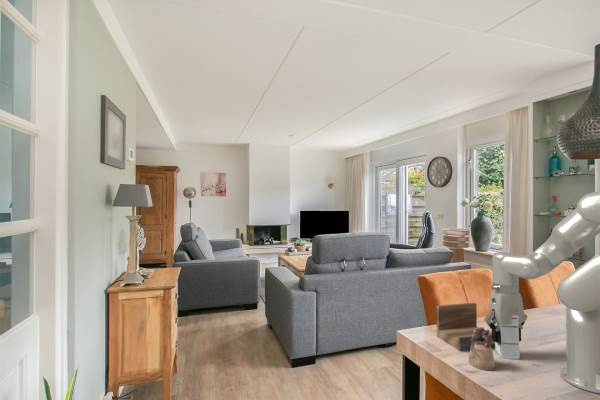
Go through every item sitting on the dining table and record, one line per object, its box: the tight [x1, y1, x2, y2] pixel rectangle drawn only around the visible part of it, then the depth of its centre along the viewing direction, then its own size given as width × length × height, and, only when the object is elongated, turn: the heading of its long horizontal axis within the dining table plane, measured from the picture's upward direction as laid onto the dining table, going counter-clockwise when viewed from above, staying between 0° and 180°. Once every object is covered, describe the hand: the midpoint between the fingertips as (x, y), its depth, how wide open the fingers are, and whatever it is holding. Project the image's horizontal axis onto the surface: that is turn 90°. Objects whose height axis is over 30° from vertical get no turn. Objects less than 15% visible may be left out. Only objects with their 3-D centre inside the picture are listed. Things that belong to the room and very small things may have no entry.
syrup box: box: [494, 315, 521, 360], centre depth 108 cm, size 6×6×14 cm
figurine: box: [468, 326, 496, 371], centre depth 101 cm, size 7×7×12 cm
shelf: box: [436, 302, 495, 352], centre depth 119 cm, size 13×17×12 cm
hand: (506, 340), depth 108 cm, fingers closed on syrup box, 7 cm apart
